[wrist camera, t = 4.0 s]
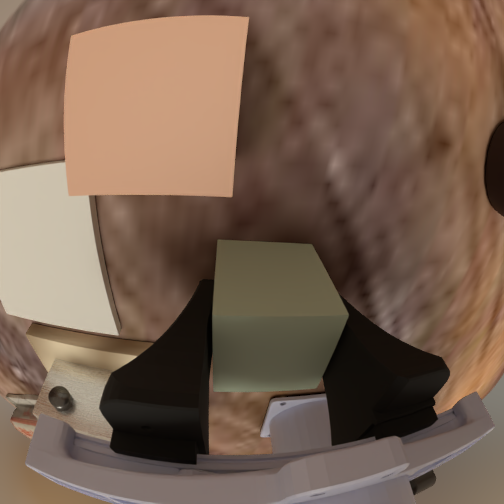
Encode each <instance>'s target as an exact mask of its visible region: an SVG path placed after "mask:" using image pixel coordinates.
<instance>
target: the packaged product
mask: <svg viewBox="0 0 504 504" xmlns="http://www.w3.org/2000/svg"><path fill="white" fill-rule="evenodd" d="M38 396H39V395H27V394H26V395H13V394H7V395H6V398H7V399H8V400H9V401H10V402H11V403H13V404H14V405H15V406H16V407H17V408H16V409H15V411H14V412H13V415H12V417H11V423H12V424H13V425H14V427H15V428H16V429H17V430H19V431H20V432H21V433H22V434H24V435H25V436H27V437H28V438H30V439H31V440H32V436H33V433H34V430H35V427H36V424H37V421H38V419H37V418H36V417H35V416H34V415H33V414H32V412H33V409H34V407H35V404H36V402H37V399H38Z"/></svg>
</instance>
